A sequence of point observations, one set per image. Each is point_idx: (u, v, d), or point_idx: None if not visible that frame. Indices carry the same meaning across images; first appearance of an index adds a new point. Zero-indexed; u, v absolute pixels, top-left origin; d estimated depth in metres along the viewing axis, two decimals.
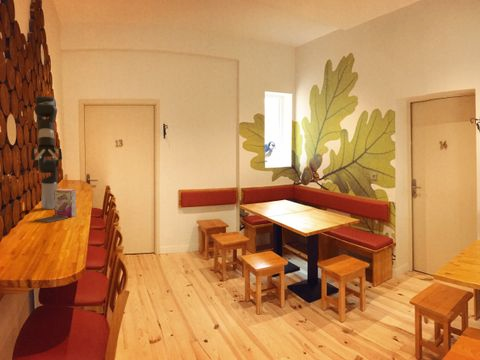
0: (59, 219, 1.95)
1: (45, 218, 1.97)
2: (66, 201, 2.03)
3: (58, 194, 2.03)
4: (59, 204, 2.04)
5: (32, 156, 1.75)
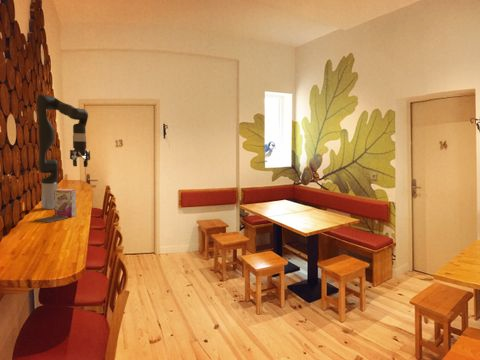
0: (59, 219, 1.95)
1: (45, 218, 1.97)
2: (66, 201, 2.03)
3: (58, 194, 2.03)
4: (59, 204, 2.04)
5: (70, 157, 2.15)
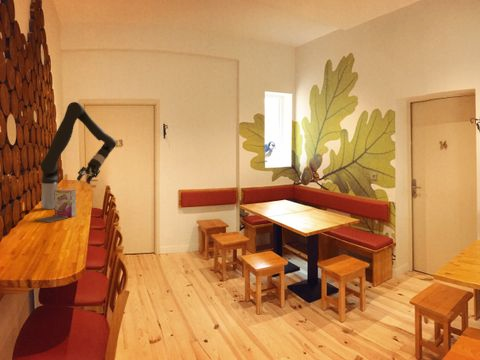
0: (59, 219, 1.95)
1: (45, 218, 1.97)
2: (66, 201, 2.03)
3: (58, 194, 2.03)
4: (59, 204, 2.04)
5: (79, 171, 2.23)
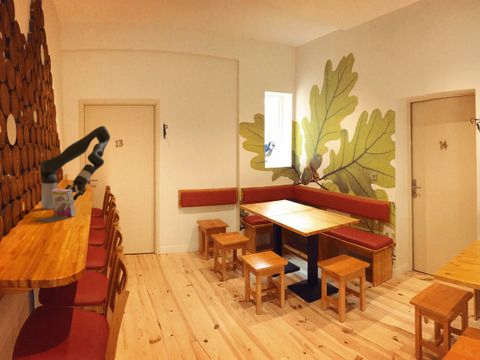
0: (59, 219, 1.95)
1: (45, 218, 1.97)
2: (64, 202, 2.01)
3: (55, 195, 2.00)
4: (57, 205, 2.02)
5: None
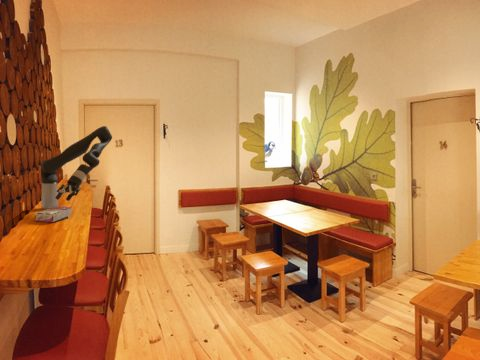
0: None
1: None
2: None
3: None
4: None
5: (58, 190, 2.09)
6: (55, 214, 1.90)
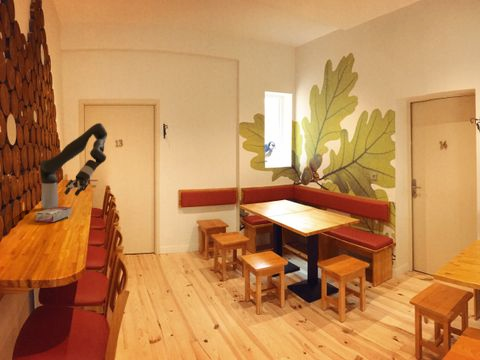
0: None
1: None
2: None
3: None
4: None
5: (67, 185, 2.14)
6: (55, 214, 1.90)
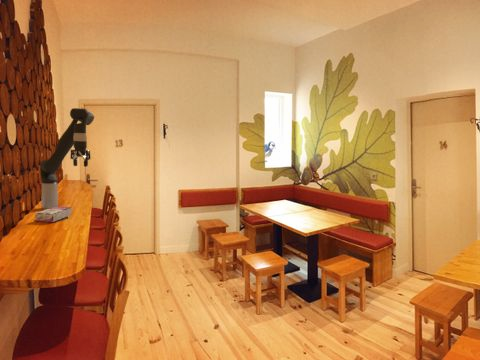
0: None
1: None
2: None
3: None
4: None
5: (71, 156, 2.16)
6: (55, 214, 1.90)
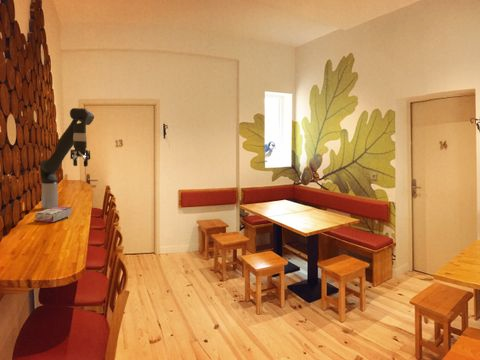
0: None
1: None
2: None
3: None
4: None
5: (71, 156, 2.16)
6: (55, 214, 1.90)
